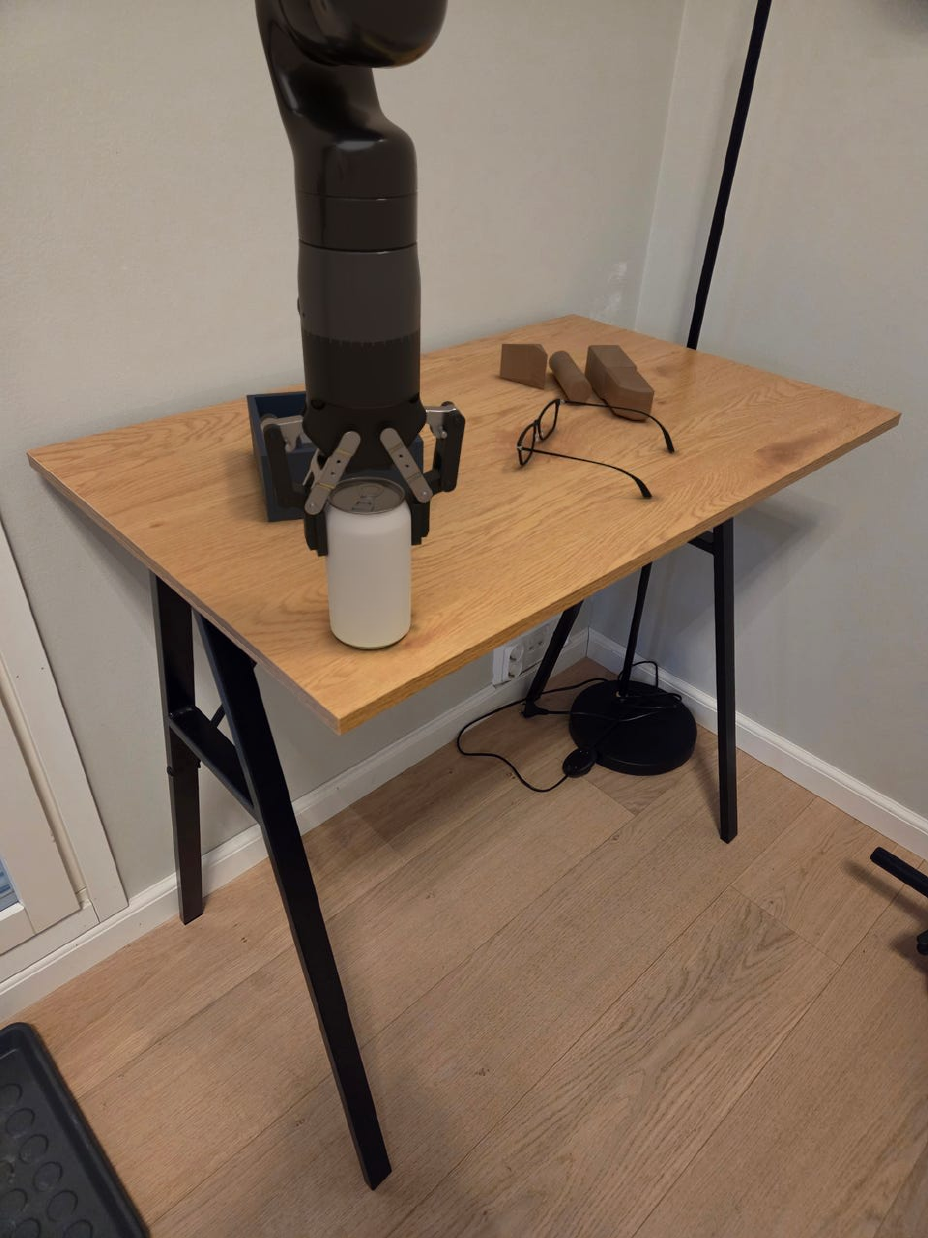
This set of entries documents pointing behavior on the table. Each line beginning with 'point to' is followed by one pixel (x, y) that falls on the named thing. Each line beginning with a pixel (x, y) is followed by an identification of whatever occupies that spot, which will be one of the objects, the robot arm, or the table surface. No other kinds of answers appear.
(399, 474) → the crate
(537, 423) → the eyeglasses
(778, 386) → the table surface
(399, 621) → the can
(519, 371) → the wooden block set
